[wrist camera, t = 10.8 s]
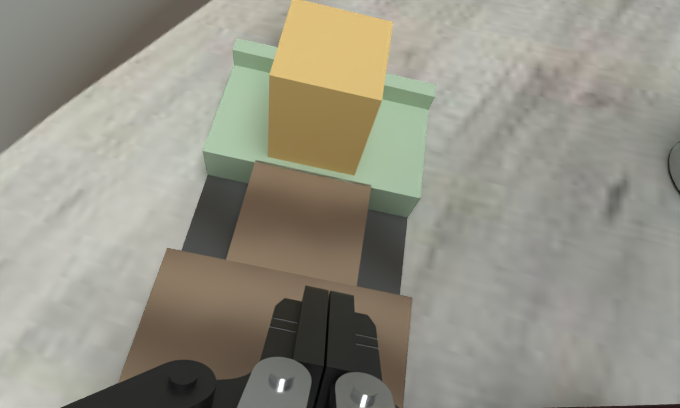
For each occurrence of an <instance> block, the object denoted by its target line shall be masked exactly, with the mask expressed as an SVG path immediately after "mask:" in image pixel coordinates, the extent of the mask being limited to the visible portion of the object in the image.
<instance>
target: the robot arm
mask: <svg viewBox="0 0 680 408" xmlns="http://www.w3.org/2000/svg"><path fill="white" fill-rule="evenodd" d="M669 166H670V172H671V175H672V178H673V180H674V182H675V184H676V186H677V188H678V190H679V191H680V142H679V143H677V144H676V145H675V146H674V147H673V149H672V151H671V153H670V158H669ZM328 295H329V296H328ZM61 408H399V407H398V406H396V405H395V404H394V400H393V396H392V393H391V391H390V390H389V388H388V387H387V386H386V385H385V384H384V383H383V382H382V373H381V365H380V356H379V349H378V340H377V331H376V326H375V324H374V323H373V321H372V320H371V318H370V317H369V316H368V315H366V314H361V313H356V312H355V306H354V295H350V294H346V293H341V292H336V291H331V290H330V292H329V290H326V289H321V288H316V287H311V286H307V285H305V289H304V293H303V297H302V301H298V300H293V299H288V298H284V299H283V300H282V301H280V302H279V303H278V304H277V305H276V306H275V308H274V312H273V315H272V319H271V323H270V326H269V330H268V333H267V337H266V340H265V344H264V348H263V351H262V355H261V358H260V361H259V362H258V363H257V364H256V365H255V366H254V368H253V370H252V372H250V373H249V374H247V375H245V376H242V377H239V378H234V379H221V380H216V377H215V374H214V373H213V371H212V370H211V369H210V368H209V367H208V366H206V365H205V364H203V363H200V362H198V361H193V360H174V361H170V362H167V363H164V364H162V365H160V366H157V367H155V368H153V369H150V370H148V371H146V372H143V373H141V374H139V375H136V376H134V377H132V378H129V379H127V380H125V381H122V382H120V383H118V384H115V385H113V386H111V387H108V388H106V389H103V390H101V391H99V392H96V393H94V394H92V395H89V396H87V397H85V398H82V399H80V400H78V401H75V402H73V403H71V404H68V405H66V406H64V407H61Z"/></svg>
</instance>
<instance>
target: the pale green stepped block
mask: <svg viewBox="0 0 680 408" xmlns="http://www.w3.org/2000/svg"><path fill="white" fill-rule="evenodd" d="M277 48H278V47H273V46H269V45H265V44H261V43H256V42H252V41H248V40H244V39H239V38H237V40H236V42H235V45H234V48H233V60H234V66H233V69H232V71H231V74H230V77H229V80H228V82H227V85H226V88H225V91H224V93H223V96H222V99H221V102H220V104H219V107H218V110H217V113H216V115H215V118H214V121H213V124H212V126H211V129H210V132H209V135H208V137H207V140H206V143H205V146H204V148H203V155H204V159H205V164H206V169H207V173H208V175H211V176H216V177H221V178H225V179H230V180H235V181H239V182H244V183H249V180H250V177H251V173H252V170H253V166H254V163H255V161H256V160H257V161H256V163H257V162H258V160H259V162H258V163H261V162H262V164H263V163H264V162H265V163H266V162H267V163H268V165H269V163H270V164H272V163H273V164H274V166H275V164H276V166H275V167H279V166H280V167H281V165H282V167H283V166H284V167H283V168H285V166H287V167H288V168H289V167H290V168H289V169H291V168H292V169H293V168H294V169H295V168H296V169H295V171H297V169H300V170H301V171H303V170H305V171H306V172H305V173H307V172H308V174H309V173H310V174H311V175H316V176H319V175H318V174H320V177H323V176H324V175H326V176H324V177H325V178H327V175H328V178H329V176H330V179H331V178H332V179H333V177H334V179H335V180H337V179H340V178H342V180H343V179H344V181H343V182H345V181H346V180H347V181H348V183H352V184H353V182H349V180H351V181H355V183H356V182H360V183H361V184H360V183H359V184H360V185H363V183H364V184H369V186H368V185H367V186H368V187H370V185H371V191H370V198H369V205H368V209H370V210H374V211H379V212H384V213H388V214H393V215H398V216H402V217H408V216H409V214H410V213H411V212H412V210H413V209H414V207H415V206H416V204H417V203H418V201H419V200H420V199H421V189H422V177H423V165H424V154H425V142H426V130H427V119H428V109H429V107H430V106H431V104H432V102H433V100H434V98H435V90H436V85H435V84H431V83H426V82H422V81H418V80H414V79H409V78H405V77H401V76H397V75H392V74H388V73H386V76H385V83H384V90H383V97H382V102H381V105H380V107H379V110H378V113H377V116H376V118H375V121H374V124H373V127H372V129H371V132H370V135H369V137H368V140H367V143H366V146H365V148H364V151H363V154H362V157H361V159H360V162H359V165H358V167H357V170H356V173H355V176H353V175H349V174H344V173H339V172H335V171H330V170H325V169H321V168H316V167H312V166H307V165H302V164H298V163H293V162H288V161H284V160H279V159H274V158H270V157H268V125H269V75H270V71H271V68H272V65H273V61H274V58H275V55H276V51H277ZM263 161H264V162H263ZM265 163H264V164H265ZM267 163H266V165H267ZM277 165H278V166H277ZM270 166H272V165H270ZM280 167H279V168H280ZM282 167H281V168H282ZM287 167H286V168H285V169H288V168H287ZM292 169H291V170H292ZM294 169H293V171H294ZM297 172H298V171H297ZM299 172H300V171H299ZM303 173H304V171H303ZM312 173H313V174H312ZM314 173H315V174H314ZM316 173H317V174H316ZM321 174H322V176H321ZM336 178H337V179H336ZM340 180H341V179H340ZM340 180H339V181H340ZM342 180H341V181H342ZM347 181H346V182H347ZM359 184H358V185H359ZM363 186H364V185H363ZM365 186H366V185H365Z"/></svg>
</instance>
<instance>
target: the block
mask: <svg viewBox="0 0 680 408" xmlns="http://www.w3.org/2000/svg"><path fill="white" fill-rule="evenodd" d="M392 27H393V22H391V21H387V20H383V19H379V18H374V17H370V16H366V15H362V14H358V13H354V12H349V11H345V10H341V9H337V8H333V7H329V6H324V5H320V4H316V3H312V2H308V1H304V0H292V2H291V5H290V9H289V12H288V15H287V19H286V22H285V25H284V28H283V32H282V35H281V38H280V42H279V45H278V48H277V51H276V55H275V58H274V61H273V65H272V68H271V71H270V75H269V125H268V157H270V158H274V159H279V160H284V161H288V162H293V163H298V164H302V165H307V166H312V167H316V168H321V169H325V170H330V171H335V172H339V173H344V174H349V175H353V176H355V173H356V170H357V167H358V165H359V162H360V159H361V157H362V154H363V151H364V148H365V146H366V143H367V140H368V137H369V135H370V132H371V129H372V127H373V124H374V121H375V118H376V116H377V113H378V110H379V107H380V105H381V102H382V97H383V90H384V83H385V76H386V69H387V62H388V55H389V48H390V41H391V34H392Z"/></svg>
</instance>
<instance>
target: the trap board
mask: <svg viewBox="0 0 680 408" xmlns="http://www.w3.org/2000/svg"><path fill="white" fill-rule="evenodd" d="M256 161H257V160H256ZM256 161H255V163H254V166H253V170H252V173H251V177H250V180H249V183H244V182H239V181H235V180H230V179H225V178H221V177H216V176H211V175H208V176H207V179H206V182H205V185H204V187H203V190H202V193H201V196H200V199H199V202H198V205H197V208H196V210H195V213H194V216H193V219H192V222H191V225H190V228H189V231H188V234H187V236H186V239H185V242H184V245H183V248H182V251H180V250H175V249H170V248H167V250H166V253H165V255H164V258H163V261H162V264H161V266H160V269H159V272H158V275H157V277H156V280H155V283H154V286H153V288H152V291H151V294H150V297H149V299H148V302H147V305H146V308H145V310H144V313H143V316H142V319H141V321H140V324H139V327H138V330H137V332H136V335H135V338H134V341H133V343H132V346H131V349H130V352H129V354H128V357H127V360H126V363H125V365H124V368H123V371H122V374H121V376H120V379H119V382H118V383H120V382H122V381H125V380H127V379H129V378H132V377H134V376H136V375H139V374H141V373H143V372H146V371H148V370H150V369H153V368H155V367H157V366H160V365H162V364H164V363H167V362H170V361H174V360H193V361H198V362H200V363H203V364H205V365H206V366H208V367H209V368H210V369H211V370H212V371H213V373H214V374H215V377H216V380H221V379H234V378H239V377H242V376H245V375H247V374H249V373H250V372H252V370H253V368H254V366H255V365H256V364H257V363H258V362H259V361H260V358H261V355H262V351H263V348H264V344H265V340H266V337H267V333H268V330H269V326H270V323H271V319H272V315H273V312H274V308H275V306H276V305H277V304H278V303H279V302H280V301H282V300H283V299H284V298H288V299H293V300H298V301H302V297H303V293H304V289H305V285H307V286H311V287H316V288H321V289H326V290H329V292H330V290H331V291H336V292H341V293H346V294H350V295H354V306H355V312H356V313H361V314H366V315H368V316H369V317H370V318H371V320H372V321H373V323H374V324H375V326H376V331H377V340H378V349H379V356H380V365H381V373H382V382H383V383H384V384H385V385H386V386H387V387H388V388H389V390H390V391H391V393H392V396H393V400H394V404H395V405H396V406H398V407H399V408H403V399H404V387H405V375H406V364H407V352H408V340H409V329H410V317H411V305H412V297H407V296H402V295H400V286H401V276H402V266H403V256H404V246H405V236H406V226H407V217H402V216H398V215H393V214H388V213H384V212H379V211H374V210H370V209H368V205H369V198H370V191H371V185H370V187H368V186H369V184H364V183H363V185H364V186H363V185H360V184H361V183H360V182H356V183H355V181H351V180H349V182H353V184H352V183H348V181H347V180H346V181H347V182H346V181H345V182H343V181H344V179H343V180H342V178H340V179H341V180H342V181H341V180H340V179H337V178H336V179H337V180H335V179H334V177H333V179H332V178H331V179H330V176H329V178H328V175H327V178H325V177H324V176H326V175H324V176H323V177H320V174H318V175H319V176H316V175H311V174H310V173H309V174H308V172H307V173H305V172H306V171H305V170H303V171H304V173H303V171H301V170H300V169H297V171H298V172H297V171H295V169H296V168H295V169H294V168H293V169H294V171H293V169H292V168H291V169H292V170H291V169H289V168H290V167H289V168H288V167H287V166H285V168H286V167H287V168H288V169H285V168H283V167H284V166H283V167H282V165H281V167H282V168H281V167H280V166H279V167H280V168H279V167H275V166H276V164H275V166H274V164H273V163H272V164H270V163H269V165H268V163H267V162H266V163H267V165H266V163H265V162H264V161H263V162H264V163H265V164H264V163H263V164H262V162H261V163H258V162H259V160H258V162H257V163H256ZM270 165H272V166H270ZM277 166H278V165H277ZM299 171H300V172H299ZM312 174H313V173H312ZM314 174H315V173H314ZM316 174H317V173H316ZM321 176H322V174H321ZM339 180H340V181H339ZM359 183H360V184H359ZM358 184H359V185H358ZM365 185H366V186H365ZM367 185H368V186H367ZM328 296H329V295H328Z"/></svg>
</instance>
